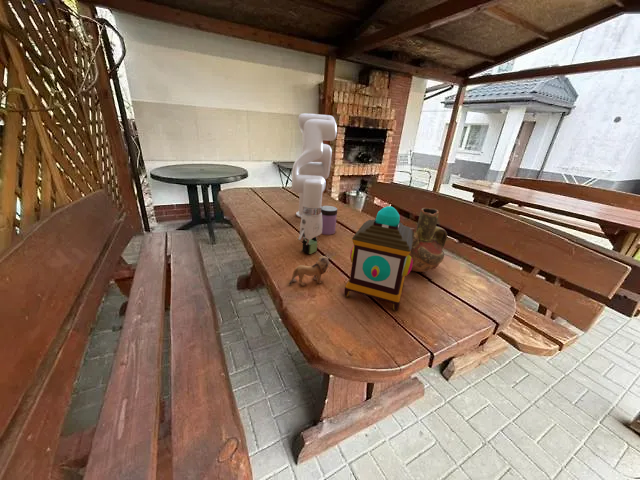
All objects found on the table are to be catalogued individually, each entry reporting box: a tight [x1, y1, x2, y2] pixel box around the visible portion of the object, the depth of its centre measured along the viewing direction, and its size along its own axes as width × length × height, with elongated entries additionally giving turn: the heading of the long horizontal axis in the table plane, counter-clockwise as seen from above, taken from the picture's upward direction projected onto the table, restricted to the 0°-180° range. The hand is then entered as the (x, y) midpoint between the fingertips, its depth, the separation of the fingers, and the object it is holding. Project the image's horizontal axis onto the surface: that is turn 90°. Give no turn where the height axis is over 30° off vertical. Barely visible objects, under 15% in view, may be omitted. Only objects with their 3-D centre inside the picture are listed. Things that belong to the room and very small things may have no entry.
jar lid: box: [321, 205, 338, 216], centre depth 133 cm, size 9×9×2 cm
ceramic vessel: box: [409, 207, 448, 273], centre depth 101 cm, size 17×26×25 cm, turn 117°
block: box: [301, 239, 318, 255], centre depth 113 cm, size 4×4×4 cm
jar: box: [320, 213, 338, 236], centre depth 135 cm, size 9×9×12 cm
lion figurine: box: [288, 255, 330, 287], centre depth 90 cm, size 15×5×9 cm, turn 116°
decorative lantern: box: [343, 205, 414, 312], centre depth 84 cm, size 20×20×30 cm
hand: (309, 249), depth 114 cm, fingers closed on block, 4 cm apart
